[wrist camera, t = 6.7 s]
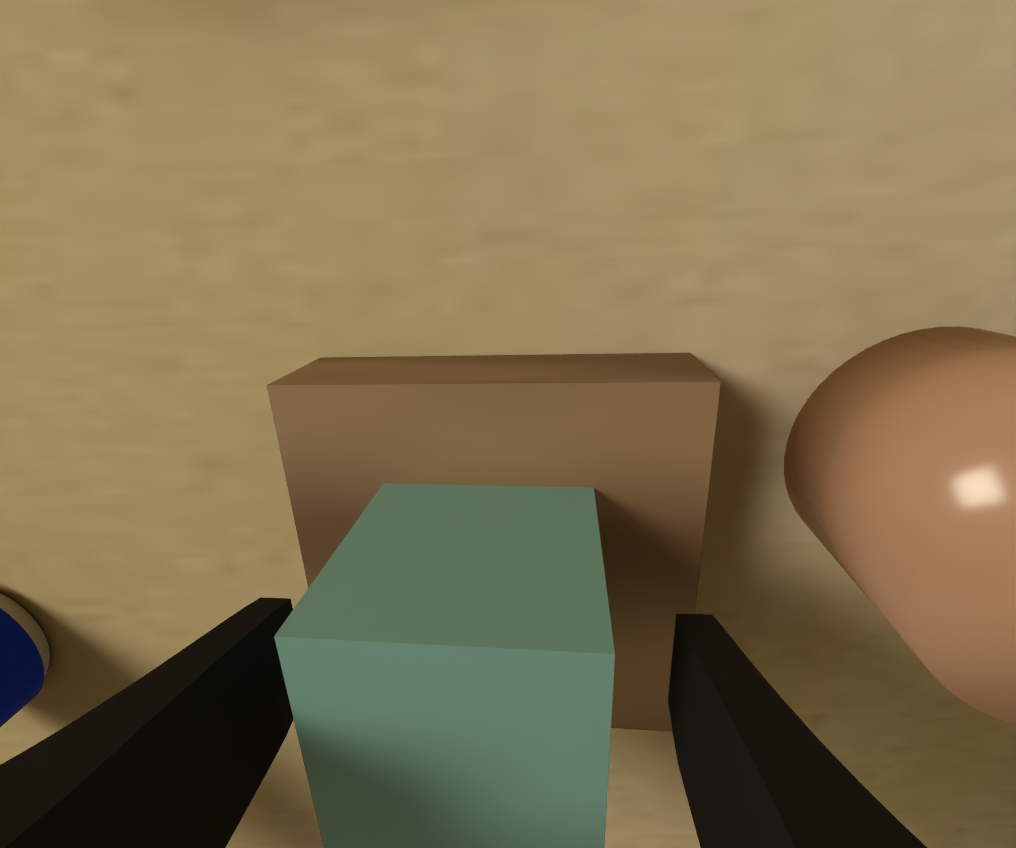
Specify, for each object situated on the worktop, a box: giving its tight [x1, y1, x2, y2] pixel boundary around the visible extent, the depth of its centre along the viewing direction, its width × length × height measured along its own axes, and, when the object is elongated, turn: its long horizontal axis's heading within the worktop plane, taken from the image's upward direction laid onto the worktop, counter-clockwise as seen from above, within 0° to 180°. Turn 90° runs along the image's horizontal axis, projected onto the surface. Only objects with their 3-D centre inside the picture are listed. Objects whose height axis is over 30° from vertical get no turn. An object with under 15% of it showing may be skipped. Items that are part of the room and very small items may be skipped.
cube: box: [274, 484, 615, 848], centre depth 9 cm, size 4×4×4 cm
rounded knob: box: [784, 327, 1016, 725], centre depth 10 cm, size 6×6×5 cm
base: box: [267, 353, 721, 732], centre depth 13 cm, size 9×9×2 cm
